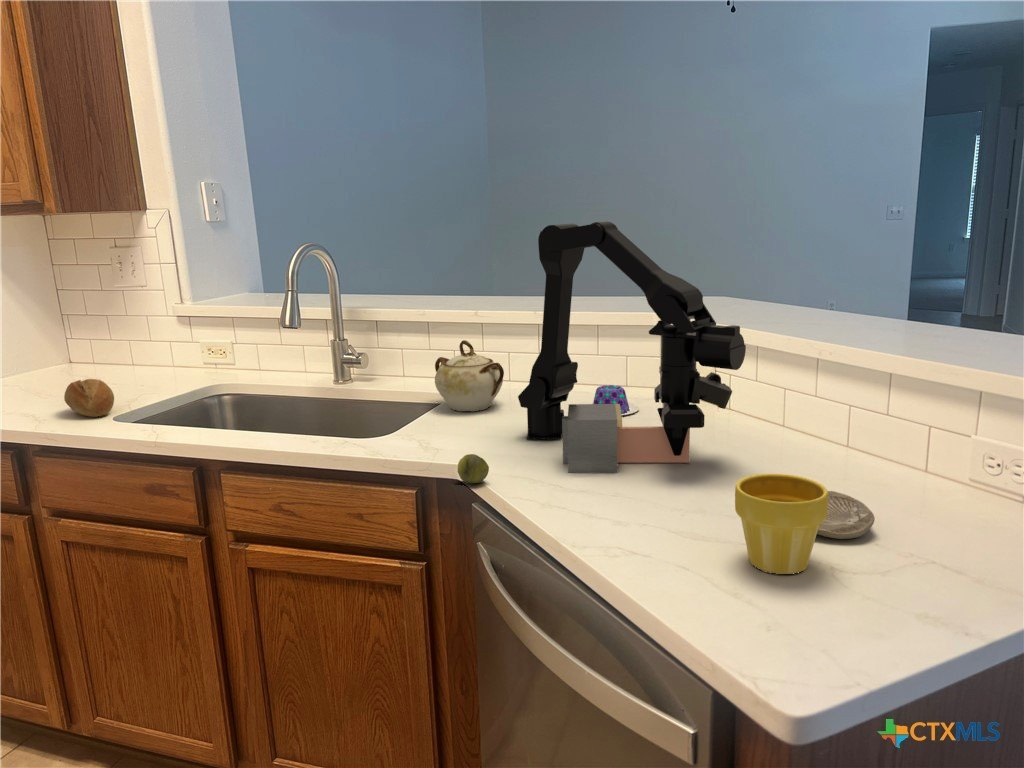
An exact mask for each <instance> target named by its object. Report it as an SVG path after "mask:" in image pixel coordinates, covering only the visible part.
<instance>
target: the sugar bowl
mask: <svg viewBox="0 0 1024 768" xmlns="http://www.w3.org/2000/svg"><path fill="white" fill-rule="evenodd" d="M464 346H467V347H468V348H469V351H468V352H465V350H464ZM459 351H460V352H459V353H460V354H459V355H457V356H454V357H452V358H450V359H449V358H446V357H443V356H440V357H438V358H436V360H435V363H434V368H435V372H436V373H435V377H434V384H435V385H434V386H435V388H436V390H437V391H438V393H439V395H440V396H441V397H442V399H443V400H444V401H445V402H446V403H447V405H448V406H449V407H450V409H451V408H452V409H453V411H455V410H457V411H456V412H461V411H471V412H479V410H480V411H483V410H487V409H488V407H489V408H490V407H491V405H492V403H493V401H494V400H495V398H496V397H497V395H498V393H499V392H500V390H501V388H502V386H503V382H504V376H505V371H504V368H503V366H502V364H501V363H499V362H494V360H493V359H492V358H489V357H486V356H483V355H480V354H477V353H476V352H474V351H475V350H474V347H473V345H472V344H471V343H470V342H469V341H468V340H461V342H460V344H459ZM452 409H451V410H452Z"/></svg>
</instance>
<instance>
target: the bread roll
mask: <svg viewBox="0 0 1024 768" xmlns="http://www.w3.org/2000/svg"><path fill="white" fill-rule="evenodd" d="M63 396H64V402H65V404H66V405H67V406H69V408H70V409H71V410H72V411H73V412H75V413H77V414H79V415H81V416H85V417H90V418H96V417H98V416H99V417H102V416H104V415H108V413H109V412H110V411H111V410H112V409H113V406H114V404H115V394H114V392H113V390H112V389H111V387H110V386H109V385H108V384H107V383H106V382H104V381H102V380H101V379H93V378H86V379H83V380H81V379H78V380H75V381H73V382H70V383H69V384H68V385H67V387H66V389H65V391H64V395H63Z"/></svg>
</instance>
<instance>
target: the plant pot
mask: <svg viewBox="0 0 1024 768" xmlns="http://www.w3.org/2000/svg"><path fill="white" fill-rule="evenodd" d="M734 489H735V490H734V508H735V512H736V515H738V517H739V518H740V520H741V525H742V531H743V535H744V540H745V544H746V550H747V555H748V560H749V562H750V564H751V565H752V566H753V565H754V566H755V567H754V566H753V567H754V568H756V567H757V568H758V570H759V569H761V570H763V571H762V572H764V571H766V572H765V573H767V572H771V573H776V574H775V575H777V574H793V573H798V572H801V571H803V570H804V569H805V570H807V567H808V566H809V565H808V564H809V561H810V558H811V554H812V551H813V548H814V545H815V540H816V537H817V535H818V534H817V531H818V528H819V525H820V524H821V523H823V522H824V521H825V519H826V516H827V507H828V491H829V490H828V489H827V488H826V487H825V486H824V485H823V484H821V483H820V482H818V481H815V480H813V479H810V478H807V477H803V476H799V475H793V474H786V473H785V474H784V473H759V474H752V475H749V476H745V477H743V478H740V479H739V480H738V481H736V484H735V486H734ZM757 568H756V569H757ZM761 570H760V571H761ZM805 570H804V571H805ZM804 571H803V572H804ZM771 573H770V574H771ZM801 573H802V572H801ZM798 574H799V573H798Z"/></svg>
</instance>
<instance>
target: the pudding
mask: <svg viewBox="0 0 1024 768" xmlns="http://www.w3.org/2000/svg"><path fill="white" fill-rule="evenodd" d="M589 404H620V409H621V415H622V414H623V415H622V416H627V415H631V414H634V413H636V412H637V411H639V410H640V409H639V408H640V407H639V406H638V405H636V404H634V403H631V402H629V401H628V398H627V394H626V390H625V388H623V387H622V386H621V385H614V384H611V385H610V384H609V385H600V386H597V388H596V390H595V393H594V397H593V402H590V403H589ZM629 408H631V409H632V410H631V411H630V409H629ZM627 411H628V412H629V413H628V412H627ZM625 413H627V414H625Z"/></svg>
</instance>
